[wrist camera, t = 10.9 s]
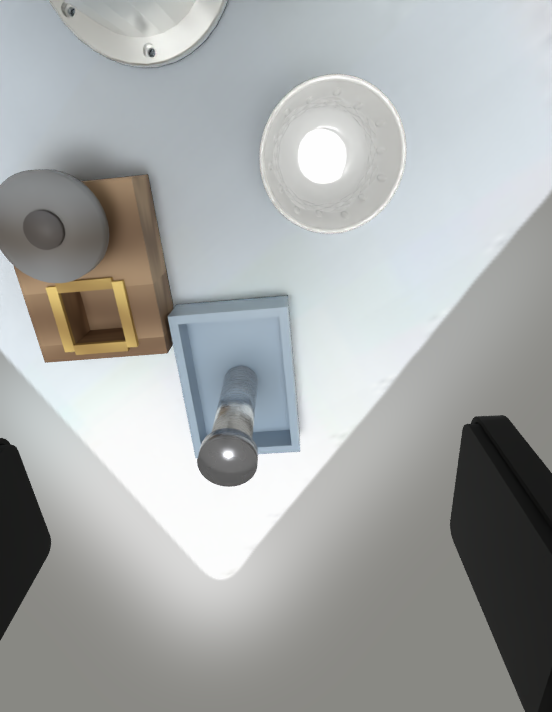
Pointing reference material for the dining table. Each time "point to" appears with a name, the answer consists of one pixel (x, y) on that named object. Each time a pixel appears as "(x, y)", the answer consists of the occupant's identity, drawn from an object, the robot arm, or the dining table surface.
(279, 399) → the tray
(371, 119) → the white cup
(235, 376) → the lock pin
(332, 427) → the dining table surface
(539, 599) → the robot arm
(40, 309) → the block
